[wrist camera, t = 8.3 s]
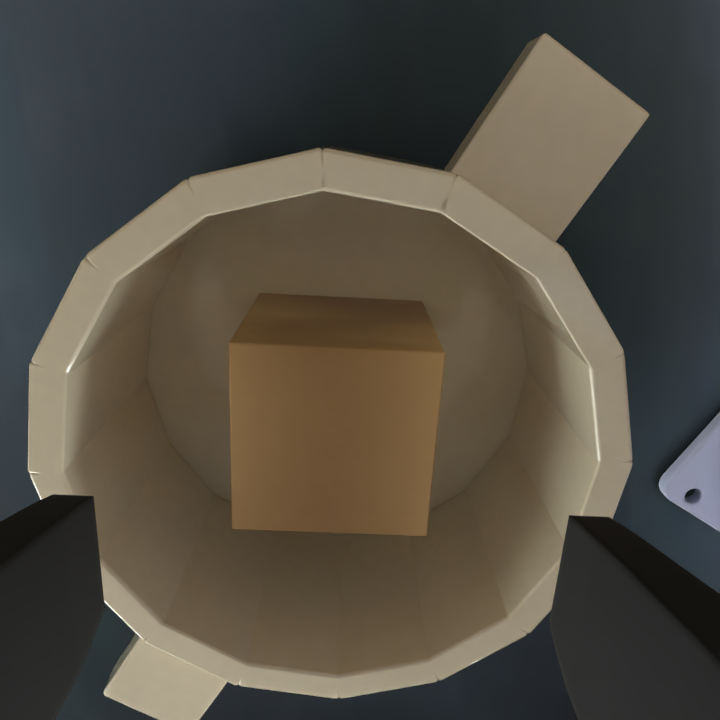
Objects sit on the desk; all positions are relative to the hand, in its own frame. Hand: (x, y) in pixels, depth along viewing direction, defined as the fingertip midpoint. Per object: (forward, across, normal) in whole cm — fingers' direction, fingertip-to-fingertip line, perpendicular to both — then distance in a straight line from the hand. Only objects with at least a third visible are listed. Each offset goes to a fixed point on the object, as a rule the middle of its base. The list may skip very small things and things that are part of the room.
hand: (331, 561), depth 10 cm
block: (+8, 0, 0) cm, 8 cm away
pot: (+9, 0, 0) cm, 9 cm away
